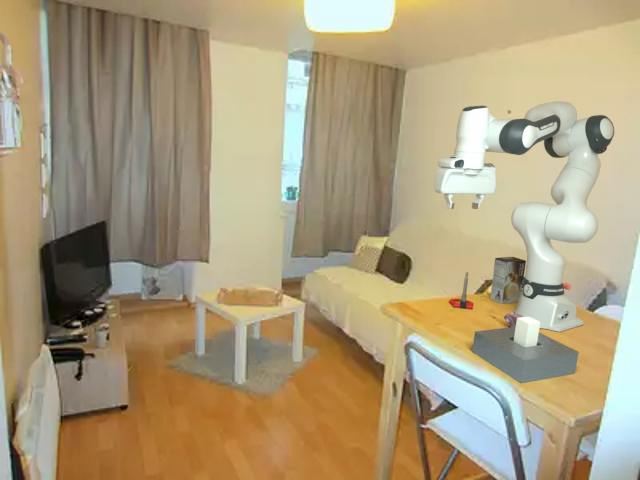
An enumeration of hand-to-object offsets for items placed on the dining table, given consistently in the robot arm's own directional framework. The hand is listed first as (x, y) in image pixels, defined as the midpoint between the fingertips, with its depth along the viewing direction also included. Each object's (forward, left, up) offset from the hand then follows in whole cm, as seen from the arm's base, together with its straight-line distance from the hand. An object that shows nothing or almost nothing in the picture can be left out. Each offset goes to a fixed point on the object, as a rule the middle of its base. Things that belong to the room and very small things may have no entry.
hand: (462, 208), depth 145 cm
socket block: (-3, +27, -37) cm, 46 cm away
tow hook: (-17, -16, -37) cm, 44 cm away
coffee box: (-37, -16, -37) cm, 55 cm away
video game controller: (-19, +10, -37) cm, 43 cm away
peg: (-3, +27, -37) cm, 46 cm away
